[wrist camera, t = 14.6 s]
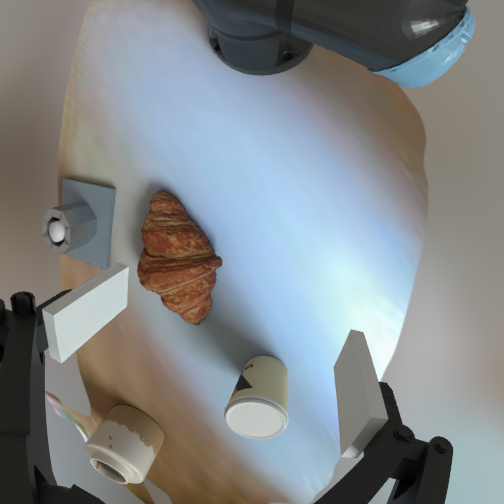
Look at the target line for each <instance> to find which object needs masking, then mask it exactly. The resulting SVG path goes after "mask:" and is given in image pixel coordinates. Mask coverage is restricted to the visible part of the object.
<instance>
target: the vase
mask: <svg viewBox="0 0 504 504" xmlns="http://www.w3.org/2000/svg"><path fill="white" fill-rule="evenodd" d="M163 441H164V432H163V430H162V429H161V427H160V426H159V425H158V423H157V422H156V421H155V420H153V419H152V418H151V417H150V416H148V415H147V414H145V413H144V412H142V411H140V410H138V409H136V408H134V407H131V406H128V405H116V406H114V407H113V408H112V409H111V410H110V411H109V413H108V414H107V415H106V417H105V418H104V419H103V421H102V422H101V423H100V425H99V426H98V427H97V429H96V430H95V431H94V433H93V434H92V435H91V437H90V438H89V439H88V441H87V442H86V444H85V451H86V453H87V454H88V456H89V457H90V462H91V464H92V465H93V467H94V468H95V469H96V470H97V471H99V472H100V473H101V474H102V475H104V476H106V477H107V478H109V479H111V480H113V481H115V482H118V483H121V484H127V483H128V482H129V483H141V482H142V481H143V480H144V478H145V477H146V475H147V473H148V471H149V469H150V467H151V465H152V463H153V461H154V459H155V457H156V455H157V453H158V451H159V449H160V448H161V446H162V444H163Z"/></svg>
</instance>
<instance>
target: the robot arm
mask: <svg viewBox="0 0 504 504" xmlns="http://www.w3.org/2000/svg"><path fill="white" fill-rule="evenodd" d="M192 1H193V2H194V3H195V5H196V6H197V7H198V8H199V10H200V11H201V12H202V14H203V15H204V16H205V18H206V19H207V20H208V38H209V42H210V44H211V47H212V49H213V50H214V52H215V53H216V54H217V56H218V57H219V58H220V59H221V60H222V61H223V62H224V63H225V64H226V65H228V66H229V67H231V68H232V69H234V70H237V71H239V72H242V73H246V74H251V75H272V74H277V73H280V72H284V71H286V70H288V69H291V68H293V67H294V66H296V65H297V64H299V63H300V62H301V61H303V60H304V59H305V58H306V56H307V55H308V54H309V53H310V51H311V49H312V47H313V45H314V44H316V45H319V46H321V47H324V48H326V49H328V50H331V51H333V52H335V53H338V54H340V55H342V56H344V57H347V58H349V59H351V60H353V61H355V62H357V63H359V64H361V65H363V66H365V67H367V69H368V70H369V71H370V72H372V73H375V74H380V75H383V76H385V77H386V78H388V79H390V80H392V81H394V82H396V83H398V84H400V85H402V86H405V87H421V86H424V85H426V84H429V83H431V82H432V81H434V80H435V79H437V78H438V77H440V76H441V75H442V74H443V73H445V72H446V71H447V70H448V69H449V68H450V67H451V66H452V65H453V64H454V63H455V62H456V61H457V59H458V58H459V57H460V56H461V54H462V53H463V51H464V50H465V48H466V47H465V43H467V42H468V41H469V40H470V39H471V37H472V35H473V32H474V29H475V18H474V15H473V13H472V12H471V11H470V8H469V7H468V6H467V5H466V3H467V2H468V0H192ZM128 271H129V266H126V265H123V264H120V263H117V264H116V265H114V266H112V267H110V268H109V269H107V270H105V271H104V272H102V273H100V274H98V275H97V276H95V277H93V278H92V279H90V280H88V281H87V282H85V283H83V284H82V285H80V286H78V287H77V288H75V289H73V290H72V289H69V290H66V291H62V292H61V293H59V294H57V295H56V296H54V297H52V298H51V299H50V300H47V301H46V302H44V303H43V304H41V305H39V306H38V307H36V305H35V297H34V295H33V294H32V293H30V292H24V291H23V292H18V293H15V294H13V295H12V296H11V298H10V300H11V305H12V311H10V310H7V309H5V304H4V301H3V300H2V299H0V504H105V503H104V502H103V501H101V500H100V499H99V498H97V497H95V496H93V495H92V494H90V493H88V492H86V491H85V490H83V489H81V488H80V487H78V486H76V485H75V484H73V486H72V487H71V489H70V488H67V487H63V486H57V482H56V480H55V478H54V475H53V472H52V467H51V461H50V453H49V445H48V437H47V425H46V411H45V355H44V351H45V350H46V349H47V348H49V352H50V357H51V358H53V359H55V360H56V361H58V362H59V363H63V362H64V361H65V360H66V359H67V358H68V357H69V356H70V355H72V354H73V353H74V352H75V351H76V350H77V349H78V348H79V347H81V346H82V345H83V344H84V343H85V342H86V341H87V340H88V339H90V338H91V337H92V336H93V335H94V334H95V333H96V332H98V331H99V330H100V329H101V328H102V327H103V326H104V325H106V324H107V323H108V322H109V321H110V320H111V319H113V318H114V317H115V316H116V315H117V314H118V313H120V312H121V311H122V310H123V309H124V308H125V307H127V289H128ZM334 376H335V385H336V395H337V406H338V418H339V431H340V446H341V457H351V458H357V457H358V456H359V455H360V454H361V453H362V451H363V452H364V457H363V458H362V459H361V460H360V461H359V462H358V463H357V464H356V465H355V466H354V467H353V468H352V470H350V471H349V472H348V473H347V474H346V475H345V476H344V477H343V478H342V479H341V480H340V481H339V482H338V483H337V484H336V485H335V486H333V488H331V489H330V490H329V491H328V492H327V493H326V494H325V495H323V496H322V497H321V498H320V499H319V500H318V501H316V502H315V503H314V504H368V503H369V502H370V500H371V499H372V498H373V497H374V496H375V494H376V493H377V492H378V491H379V490H380V488H381V487H382V486H383V485H384V483H385V482H386V481H387V480H388V478H389V477H390V478H393V479H396V481H395V484H394V487H393V489H392V492H391V494H390V497H389V499H388V502H387V504H444V503H445V499H446V494H447V489H448V484H449V478H450V471H451V465H452V457H453V447H452V445H451V443H450V442H449V441H448V440H447V439H445V438H443V437H440V436H437V437H434V438H433V439H431V440H430V441H429V442H425V441H421V440H418V439H416V438H415V436H414V433H413V432H412V430H411V429H410V428H408V427H407V426H405V425H403V424H402V420H401V417H400V413H399V410H398V407H397V405H396V400H395V399H394V398H395V397H394V394H393V391H392V389H391V388H390V387H389V385H388V384H387V383H384V382H378V379H377V375H376V372H375V368H374V365H373V362H372V358H371V355H370V352H369V349H368V345H367V342H366V339H365V336H364V333H363V332H360V331H356V330H350V333H349V335H348V337H347V340H346V342H345V344H344V346H343V348H342V351H341V353H340V355H339V357H338V359H337V361H336V363H335V365H334Z"/></svg>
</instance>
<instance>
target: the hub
mask: <svg viewBox="0 0 504 504" xmlns="http://www.w3.org/2000/svg"><path fill="white" fill-rule="evenodd" d="M59 220H61V222H62V224H63V226H64V228H65V239H64V240H62V241H59V242H55V241H53V240H52V238H51V236H50V233H49V227H50V225H51V223H53V222H56V221H59ZM42 225H43V227H42V230H43V233H42V234H43V235H42V236H43V238H44V240H45V242H46V244H47V245H48V247H49V249H50V251H53V252H55V253H58V254H60V255H63V254H65V253H67V252H70V251H72V250H74V249H76V248H79V247H81V246H83V245H86V244H88V243H89V242H90V241H91V240H92V239H93V238H94V237H95V236H96V234H97V217H96V215H95V214H94V212H93V210H92V208H91V206H90V205H89V204H85V203H81V202H75V203H71V204H66V205H62V206H58V207H54V208H50V210H49V211H48V212H47V214H46V215H45V216H44V217H43V223H42Z"/></svg>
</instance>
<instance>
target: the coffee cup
mask: <svg viewBox="0 0 504 504" xmlns="http://www.w3.org/2000/svg"><path fill="white" fill-rule="evenodd" d="M224 416H225V419H226V422H227V424H228V426H229V427H230V428H231V429H232V430H233V431H234V432H236V433H238V434H239V435H242V436H244V437H247V438H252V439H268V438H272V437H275V436H277V435H279V434H280V433H281V432H282V431H283V430H284V429H285V428H286V426H287V424H288V373H287V369H286V367H285V365H284V364H283V363H282V362H281V361H280V360H278V359H276V358H274V357H271V356H257V357H254V358H252V359H250V360H249V361H248V362H247V363H246V365H245V366H244V368H243V371H242V373H241V375H240V377H239V380H238V382H237V384H236V387H235V389H234V391H233V394H232V396H231V398H230V401H229V403H228V404H227V406H226V408H225V412H224Z"/></svg>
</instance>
